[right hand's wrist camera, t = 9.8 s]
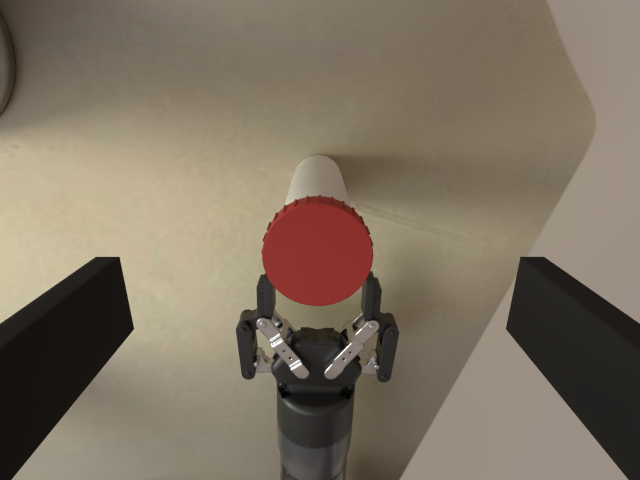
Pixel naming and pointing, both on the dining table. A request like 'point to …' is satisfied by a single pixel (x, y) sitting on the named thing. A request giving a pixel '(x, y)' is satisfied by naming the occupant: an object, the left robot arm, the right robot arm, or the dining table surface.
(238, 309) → the dining table surface
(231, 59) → the dining table surface
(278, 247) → the lid
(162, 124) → the dining table surface
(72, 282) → the right robot arm
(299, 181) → the bottle
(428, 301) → the dining table surface
